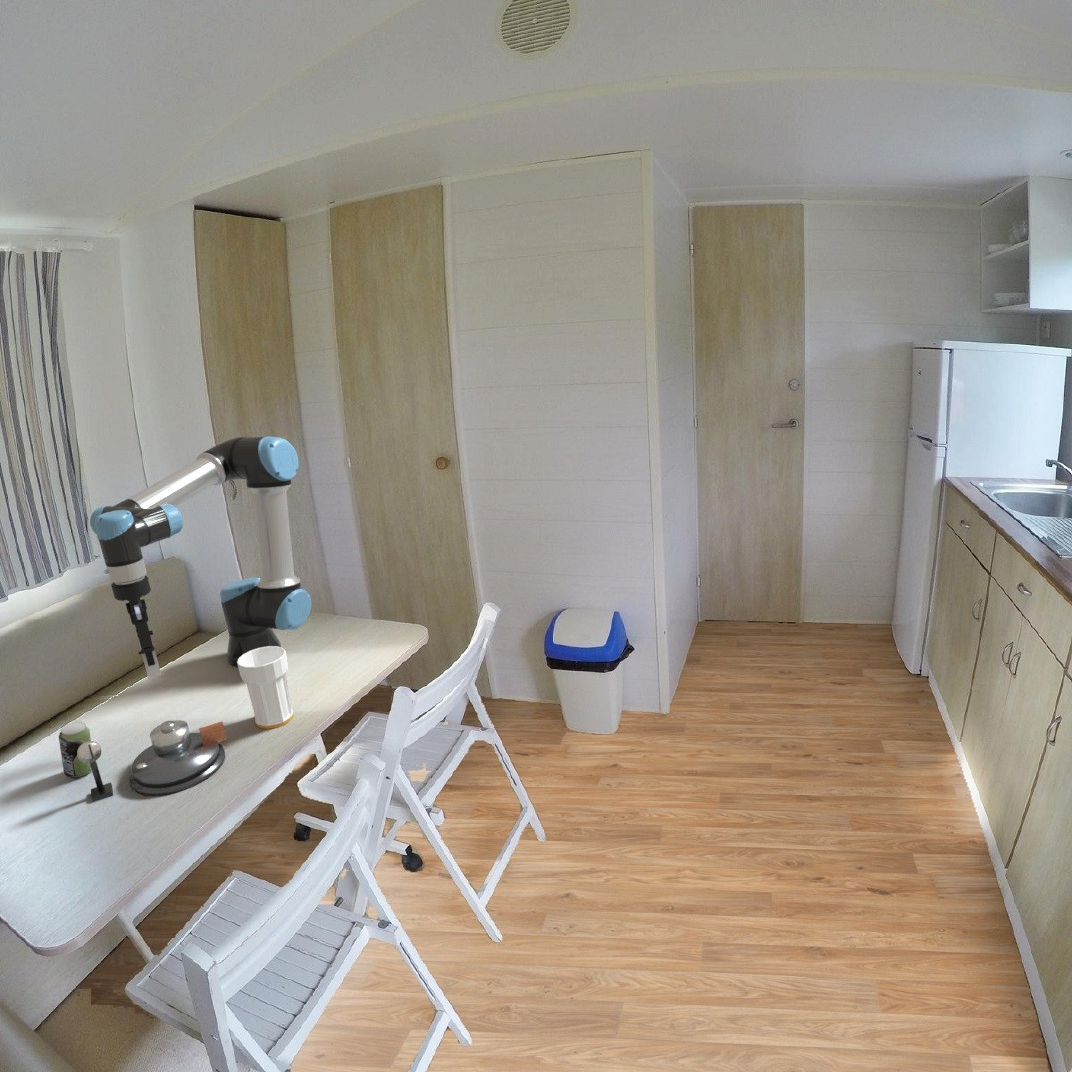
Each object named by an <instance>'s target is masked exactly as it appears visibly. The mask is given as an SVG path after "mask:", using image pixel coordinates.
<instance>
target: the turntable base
mask: <svg viewBox="0 0 1072 1072" xmlns="http://www.w3.org/2000/svg"><path fill="white" fill-rule="evenodd" d="M218 746H219V750H220V754H219V757H218V759H217V761H216V762H215V763H214V764H213V765H212V766H211V767H210V768H209V769H208V770H206V771H205V772H203V773H202V774H200V775H198V776H196V777H195V778H192V779H190V780H188V781H185V782H183V783H180V784H176V785H172V786H168V787H161V788H149V787H144V786H141V785H139V784H137V783H136V782H135V780H134V777H133V773H132V771H131V772H130V774H129V777H128V781H129V785H130V788H131V789H132V790H133V791H134V792H135V793H136V794H139V795H142V796H148V797H149V796H151V797H157V796H166V795H171V794H175V793H180V792H182V791H185V790H188V789H191V788H193V787H195V786H197V785H199V784H201V783H203V782H205V781H206V780H208V779H210V777H212V776H214V775H215V774H216V773H217V772H218V771H219V770H220V769H221V767H222V766H223V764H224V763H225V760H226V751H225V748H224V746H223V745H222V744H221V743H220V742H218Z"/></svg>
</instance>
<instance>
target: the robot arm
mask: <svg viewBox="0 0 1072 1072" xmlns="http://www.w3.org/2000/svg"><path fill="white" fill-rule="evenodd" d="M298 470H299V456H298V454H297V451H296V449H295V448H294V446H293V444H292V443H290V442H289V441H288V440H287V439H285V438H283V437H278V436H277V437H276V436H268V435H267V436H250V437H247V436H238V437H233V438H230V439H228V440H225V441H223V442H221V443H218V444H216V445H215V446H212V447H211V448H208V449H207V450H204V451H203V452H202V453H199V454H198V455H197V457H196V459H195V460H194V461H193V462H191V463H190V464H187V465H186V466H184V467H182V468H181V469H179V470H176V471H175V472H173V473H171V474H170V475H168V476H165V477H164V478H162V479H160V480H159V481H157V482H155V483H154V484H152V485H150V486H148V487H146V488H144V489H143V490H141V491H139V492H137V493H135V494H133V495H132V496H130V497H128V498H126V499H125V500H123V501H120V502H119V503H117V504H114V505H106V506H99V507H98V508H95V509H94V510H93V512H92V513H91V515H90V518H89V525H90V528H91V530H92V532H93V533H95V535H96V539H97V540H98V542H99V546H100V549H101V550H100V551H101V553H102V556H103V560H104V563H105V567H106V568H105V569H104V570H103V572H104V574H108V578H109V582H111V584H110V585H111V590H112V594H113V597H114V599H115V600H116V601H120V602H125V601H127V602H126V603H125V607H126V611H127V614H129V617H130V621H131V624H132V625H134V627H135V633H137V637H138V643H139V647H140V651H138V652H137V653H138V655H139V656H140V655H141V656H142V661H143V663H144V667H145V670H146V674H147V679H149V680H150V679H154V678H156V677H160V676H162V672H161V669H160V664H159V661H158V658H157V653H156V648H155V646H154V643H153V639H152V636H153V635H154V632H153V630H150V629H149V624H148V621H149V616H148V611H147V609H148V608H147V604H146V600H145V598H142V597H144V596H147V595H149V594H150V592H151V591H152V589H151V584H150V580H149V577H148V576H147V568H146V564H145V560H144V557H143V553H142V548H144V547H147V546H149V545H153V544H154V543H158V542H161V541H162V540H166V539H169V538H171V537H173V536H175V535H176V534H179V533H180V532H181V531H182V530H183V527H184V520H183V515H182V513H181V512H180V510H179V509H178V508H177V507H178V506H179V505H181V504H183V503H184V502H186V501H187V500H189V499H191V498H192V497H195V496H196V495H198V494H199V493H202V492H203V491H204V490H206V489H208V488H209V487H211V486H221V485H222V484H224V483H225V482H228V481H233V480H245V481H246V489H248V490H249V491H250V492H252V494H253V500H254V511H255V521H256V531H257V538H258V539H257V540H258V541H257V542H258V549H259V562H260V569H261V570H260V571H261V578H260V577H248V578H243V579H240V580H236V581H234V582H231V583H229V584H227V585H226V586H224V587H223V588H221V590H220V593H219V596H220V603H221V607H222V611H223V615H224V619H225V625H226V627H227V628H226V629H227V632H228V644H227V651H226V657H227V661H228V664H229V665H231V666H234V667H238V664H237V661H238V659H239V658H240V657H241V656H242V655H243V654H245V653H247V652H249V651H251V650H254V649H257V648H261V647H267V646H277V647H281V648H282V646H281V645H282V644H281V641H280V639H279V638H278V636H277V635H276V633H275V631H274V630H275V629H276V630H279V631H287V630H288V631H291V630H292V631H293V630H297V629H299V628H300V627H302V626H303V625H304V624H305V622H306V620H307V618H308V617H310V616H309V615H310V613H311V609H312V599H311V596H310V594H309V593H308V591H306V590H305V589H304V588H302V587H301V579H300V578H299V577H297V576H296V575H295V570H294V561H293V560H294V559H293V549H292V539H291V529H290V528H291V527H290V518H289V517H290V516H289V509H288V507H289V506H288V495H287V491H288V490H289V489H290V488H291V486H292V479H293V478H295V477H296V475H297V473H298V472H297V471H298ZM141 598H142V599H141ZM273 629H274V630H273Z"/></svg>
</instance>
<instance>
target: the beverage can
mask: <svg viewBox="0 0 1072 1072" xmlns="http://www.w3.org/2000/svg"><path fill="white" fill-rule="evenodd" d="M90 731H91V730H90V728H89V727H88V726H87V724H86V723H84V722H82V721H81V722H80V721H79V722H78V721H77V722H76V721H75V722H70V723H67V724H66V725H63V726H62V727H61V729H60V732H59V735H58V741H59V749H60V755H61V761H62V762H61V763H62V768H63V773H64V775H65V776H68V777H71V778H81V777H83V776H86V775H87V774H89V773H90V772H92V769H91V766H90V763H83V762H81V761H80V760H79V759H78V756H77V751H78V748H79V747H80V746H81V745H82V744H83V743H85V742H89V741H92V739H91V738H92V737H91V732H90Z"/></svg>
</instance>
